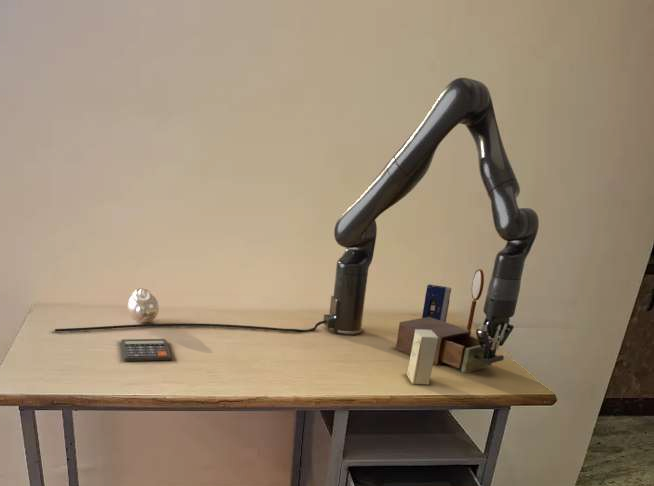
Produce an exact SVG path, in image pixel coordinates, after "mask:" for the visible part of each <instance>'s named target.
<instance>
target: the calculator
mask: <svg viewBox="0 0 654 486" xmlns="http://www.w3.org/2000/svg"><path fill="white" fill-rule="evenodd" d="M120 342H121V349H122V356H123V361H124V362H138V361H139V362H141V361H171V360H172V356H171V352H170V349H169V346H168V343H167V339H166V338H131V339H128V338H127V339H126V338H125V339H121V340H120Z"/></svg>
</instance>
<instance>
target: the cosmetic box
mask: <svg viewBox="0 0 654 486" xmlns="http://www.w3.org/2000/svg"><path fill="white" fill-rule="evenodd" d="M437 341H438V337H437V335H436V334H435V333H434V332H433V331H432V330H423V329H415V334H414V340H413V345H412V351H411V355H409V356H410V357H409V360H408V361H409V362H408V368H407V372H406V376H407V377H408V380H410V382H411V383H412V384H413V385H429V384H430V381H431V375H432V371H433V365H434V364H433V361H434V356H435V351H436V346H437Z"/></svg>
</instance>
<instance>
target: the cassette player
mask: <svg viewBox="0 0 654 486" xmlns="http://www.w3.org/2000/svg"><path fill="white" fill-rule="evenodd" d="M451 293H452V288H451V287H449V286H443V285H435V284H427V286H426V291H425V298H424V303H423V311H422V314H421V318H426V317H431V318H434V319H437V320H440V321H443V322H446V323H447V318H448V311H449V307H450V299H451Z"/></svg>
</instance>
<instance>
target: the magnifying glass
mask: <svg viewBox="0 0 654 486" xmlns="http://www.w3.org/2000/svg"><path fill="white" fill-rule="evenodd" d="M484 284H485V274H484V271H483V269H481V268H479V269H476V271H475V272H474V275H473V278H472V282H471V297H472V301H471V306H470V311H469V316H468V320H467V326H466V329H467V330H470V331H471V332H472V325H473V320H474V316H475V311H476V306H477V301H479V300H480V298H481V297H482V293H483V290H484Z"/></svg>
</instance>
